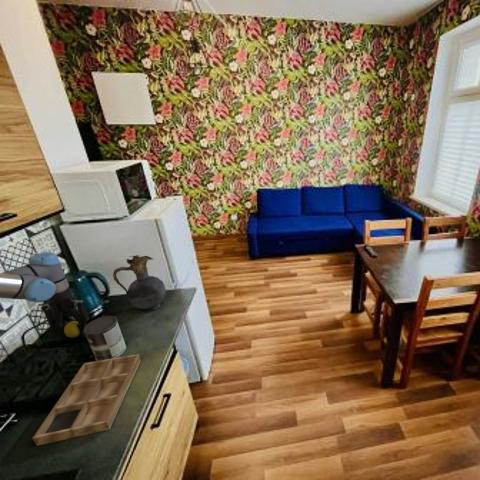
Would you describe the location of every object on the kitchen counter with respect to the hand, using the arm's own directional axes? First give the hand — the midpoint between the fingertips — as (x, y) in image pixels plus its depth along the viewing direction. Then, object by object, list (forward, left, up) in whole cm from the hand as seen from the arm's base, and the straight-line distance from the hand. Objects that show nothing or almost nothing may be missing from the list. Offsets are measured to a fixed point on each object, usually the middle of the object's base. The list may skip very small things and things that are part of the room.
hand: (76, 336), depth 114 cm
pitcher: (+22, +16, -2) cm, 28 cm away
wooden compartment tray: (+21, -33, -2) cm, 39 cm away
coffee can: (+17, -12, -2) cm, 21 cm away
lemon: (0, 0, -1) cm, 1 cm away
